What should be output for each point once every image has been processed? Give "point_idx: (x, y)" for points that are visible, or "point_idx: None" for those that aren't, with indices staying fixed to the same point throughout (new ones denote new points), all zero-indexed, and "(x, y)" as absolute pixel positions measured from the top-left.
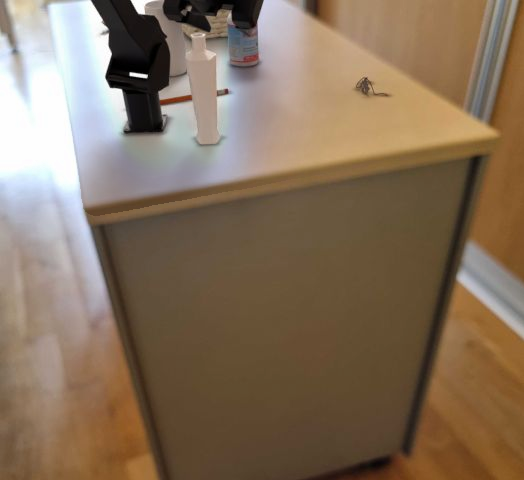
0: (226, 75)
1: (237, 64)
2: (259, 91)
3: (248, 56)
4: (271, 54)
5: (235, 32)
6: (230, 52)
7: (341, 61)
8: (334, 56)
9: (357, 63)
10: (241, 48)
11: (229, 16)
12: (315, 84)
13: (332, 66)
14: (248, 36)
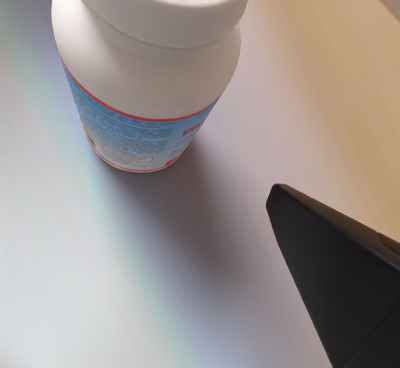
0: (139, 265)
1: (139, 172)
2: (308, 355)
3: (182, 152)
4: None
5: (147, 134)
6: (104, 151)
7: (365, 61)
8: (336, 29)
9: (396, 68)
10: (165, 154)
11: (89, 54)
12: (395, 234)
13: (365, 99)
14: (269, 216)
